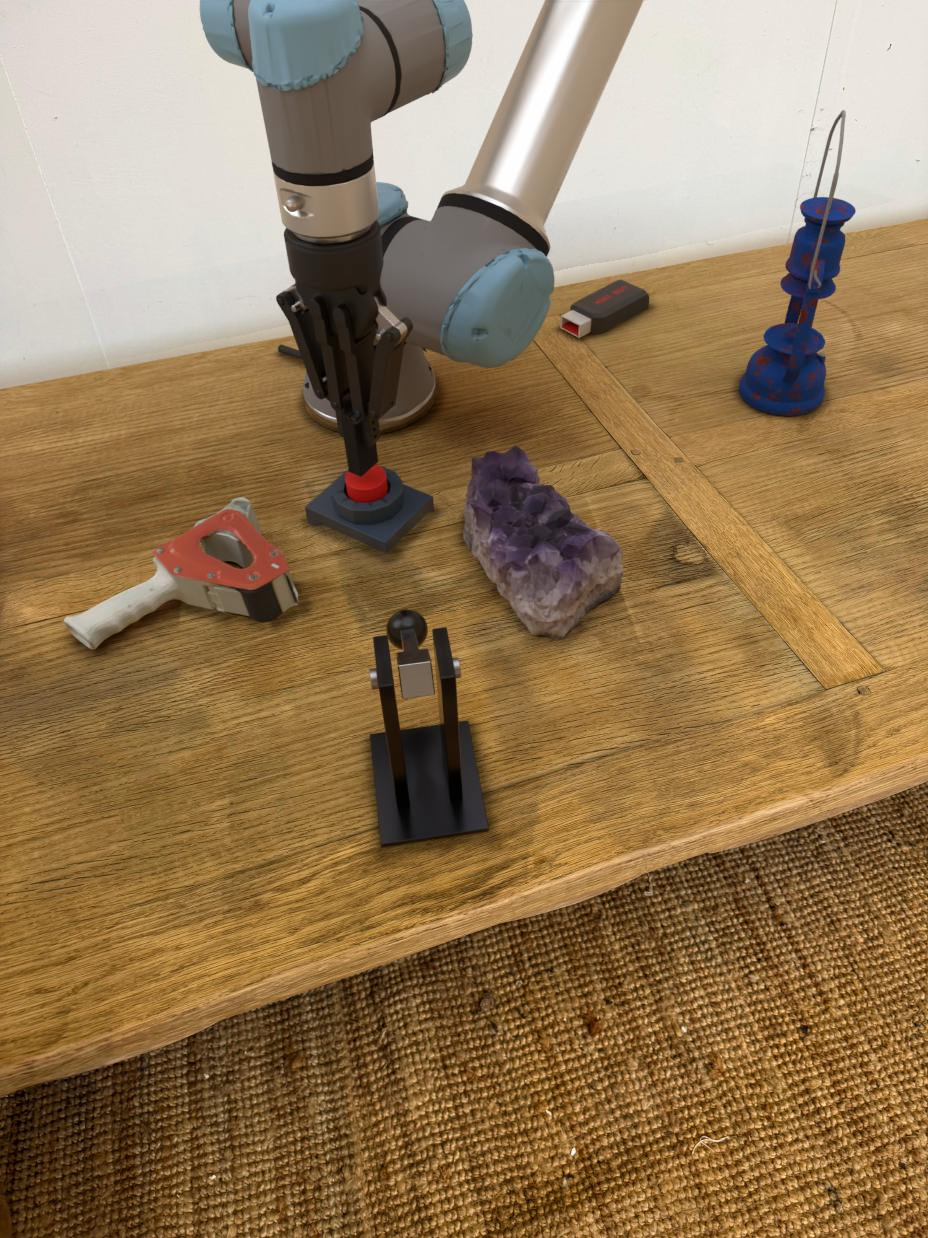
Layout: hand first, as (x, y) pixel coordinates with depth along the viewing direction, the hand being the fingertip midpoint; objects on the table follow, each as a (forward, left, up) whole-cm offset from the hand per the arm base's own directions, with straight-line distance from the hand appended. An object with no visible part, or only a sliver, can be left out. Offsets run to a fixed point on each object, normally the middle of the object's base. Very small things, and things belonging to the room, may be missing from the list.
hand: (363, 466), depth 90 cm
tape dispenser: (-7, -17, -7) cm, 20 cm away
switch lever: (+21, -20, +3) cm, 29 cm away
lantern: (+27, +42, -7) cm, 50 cm away
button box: (0, 0, -7) cm, 7 cm away
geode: (+17, +2, -7) cm, 18 cm away
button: (0, 0, -3) cm, 3 cm away
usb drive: (+2, +47, -7) cm, 47 cm away
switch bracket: (+23, -23, -7) cm, 33 cm away
